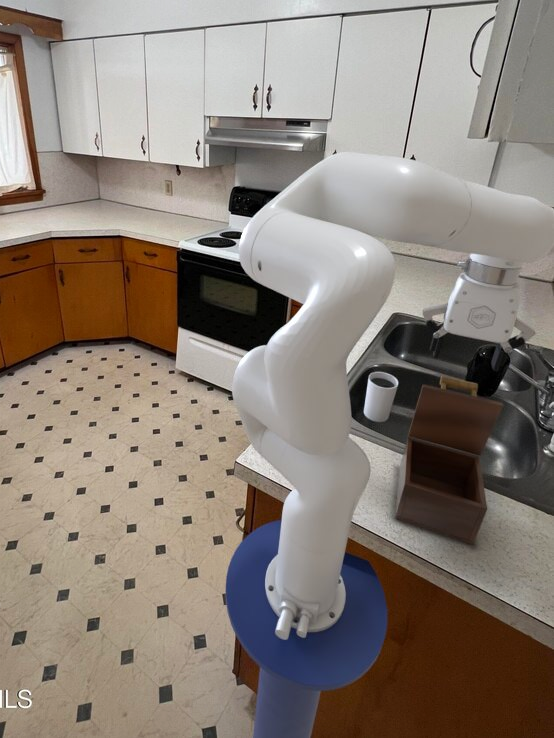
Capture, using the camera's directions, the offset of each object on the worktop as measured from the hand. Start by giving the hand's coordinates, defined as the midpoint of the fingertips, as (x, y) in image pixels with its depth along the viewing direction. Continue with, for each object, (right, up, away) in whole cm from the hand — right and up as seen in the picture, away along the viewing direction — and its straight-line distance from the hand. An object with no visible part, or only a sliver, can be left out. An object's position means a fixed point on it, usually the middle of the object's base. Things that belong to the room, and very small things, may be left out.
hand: (464, 360), depth 77 cm
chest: (-4, -27, +3) cm, 28 cm away
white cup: (-7, -17, +26) cm, 32 cm away
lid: (-2, -11, 0) cm, 11 cm away
